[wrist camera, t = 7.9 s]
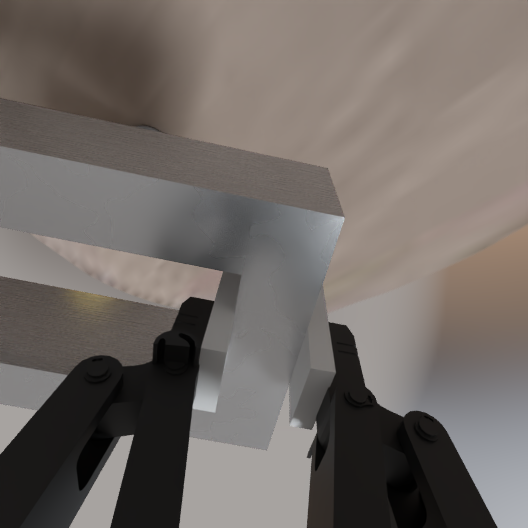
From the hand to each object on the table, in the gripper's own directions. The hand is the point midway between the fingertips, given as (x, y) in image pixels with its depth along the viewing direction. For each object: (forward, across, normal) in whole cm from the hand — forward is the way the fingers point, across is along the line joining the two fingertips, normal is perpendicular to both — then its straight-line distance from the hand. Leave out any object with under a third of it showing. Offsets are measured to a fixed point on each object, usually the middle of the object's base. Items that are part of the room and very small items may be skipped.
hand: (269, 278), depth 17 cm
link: (0, -8, 0) cm, 8 cm away
